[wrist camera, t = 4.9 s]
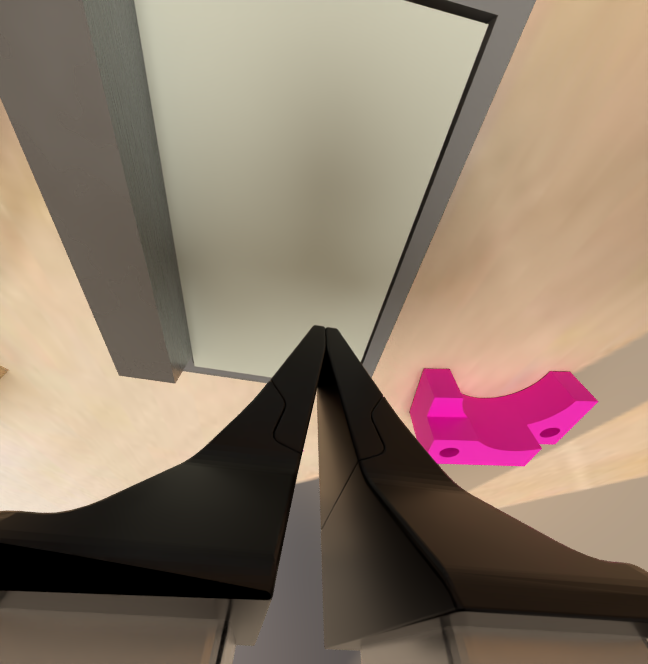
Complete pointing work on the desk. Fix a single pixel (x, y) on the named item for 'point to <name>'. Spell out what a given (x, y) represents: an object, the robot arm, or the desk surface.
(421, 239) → the hatch box
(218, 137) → the trapdoor
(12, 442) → the desk surface
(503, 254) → the desk surface
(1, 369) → the kinetic sculpture
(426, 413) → the magenta saddle bracket
